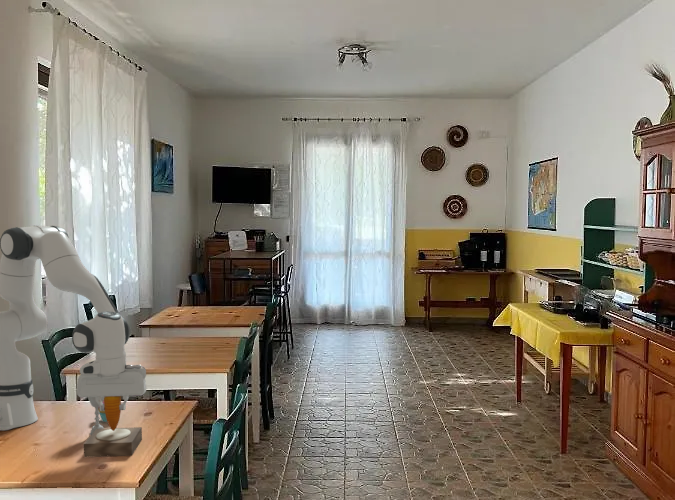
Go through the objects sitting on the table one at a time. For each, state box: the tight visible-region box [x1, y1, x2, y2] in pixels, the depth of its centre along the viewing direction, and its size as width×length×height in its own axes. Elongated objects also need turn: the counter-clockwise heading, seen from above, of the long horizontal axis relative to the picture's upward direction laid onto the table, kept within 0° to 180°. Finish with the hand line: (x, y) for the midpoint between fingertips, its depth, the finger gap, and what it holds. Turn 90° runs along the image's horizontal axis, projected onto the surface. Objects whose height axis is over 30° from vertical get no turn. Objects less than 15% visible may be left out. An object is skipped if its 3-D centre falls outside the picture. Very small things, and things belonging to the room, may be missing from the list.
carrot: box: [104, 396, 122, 431], centre depth 212 cm, size 5×5×15 cm
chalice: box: [87, 397, 105, 436], centre depth 227 cm, size 7×7×18 cm
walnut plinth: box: [83, 426, 143, 458], centre depth 213 cm, size 14×14×4 cm
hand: (112, 410), depth 212 cm, fingers closed on carrot, 4 cm apart
